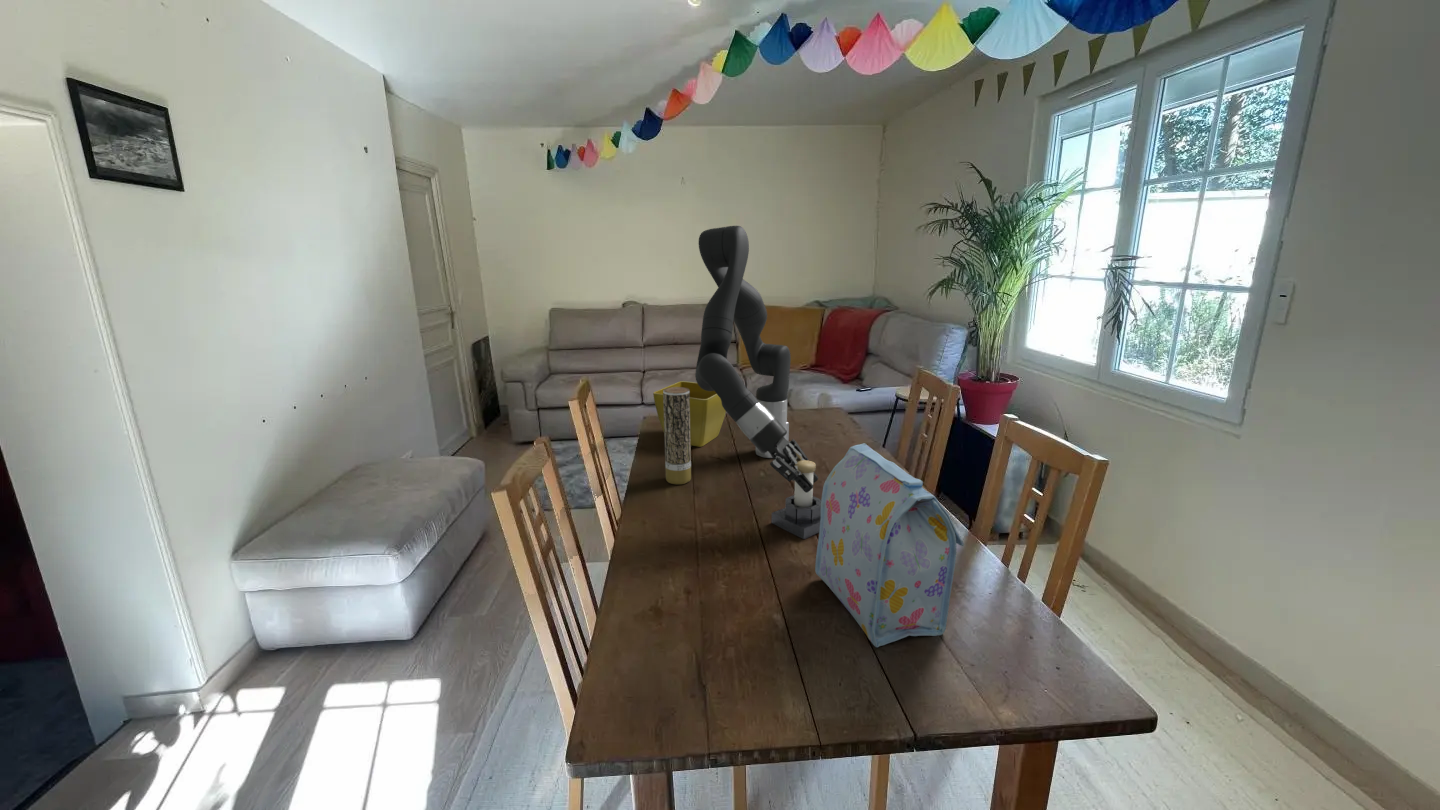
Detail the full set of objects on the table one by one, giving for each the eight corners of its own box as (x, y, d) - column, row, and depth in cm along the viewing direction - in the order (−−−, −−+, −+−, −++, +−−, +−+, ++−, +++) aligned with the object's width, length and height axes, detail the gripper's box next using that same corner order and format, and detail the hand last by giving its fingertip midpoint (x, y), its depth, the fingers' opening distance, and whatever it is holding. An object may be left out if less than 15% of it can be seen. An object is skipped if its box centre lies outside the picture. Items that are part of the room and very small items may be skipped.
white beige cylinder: (802, 507, 134) (804, 458, 131) (818, 514, 131) (820, 464, 128) (787, 513, 132) (789, 463, 128) (803, 520, 128) (805, 469, 125)
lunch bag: (964, 635, 94) (983, 482, 87) (871, 656, 89) (883, 495, 82) (887, 565, 115) (897, 437, 108) (809, 579, 110) (814, 446, 103)
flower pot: (731, 434, 196) (731, 385, 191) (706, 452, 179) (706, 399, 175) (681, 427, 203) (680, 380, 199) (653, 444, 187) (651, 393, 182)
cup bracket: (802, 510, 139) (802, 489, 137) (834, 525, 131) (835, 503, 130) (771, 522, 133) (771, 500, 131) (803, 539, 125) (804, 515, 124)
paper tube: (692, 476, 160) (691, 387, 154) (689, 486, 153) (687, 393, 147) (668, 475, 161) (665, 386, 154) (663, 485, 154) (660, 393, 148)
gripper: (763, 426, 122) (818, 488, 121) (781, 409, 135) (831, 464, 133) (739, 447, 125) (792, 507, 124) (759, 428, 138) (808, 483, 137)
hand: (812, 485), depth 129 cm, fingers open, 4 cm apart
